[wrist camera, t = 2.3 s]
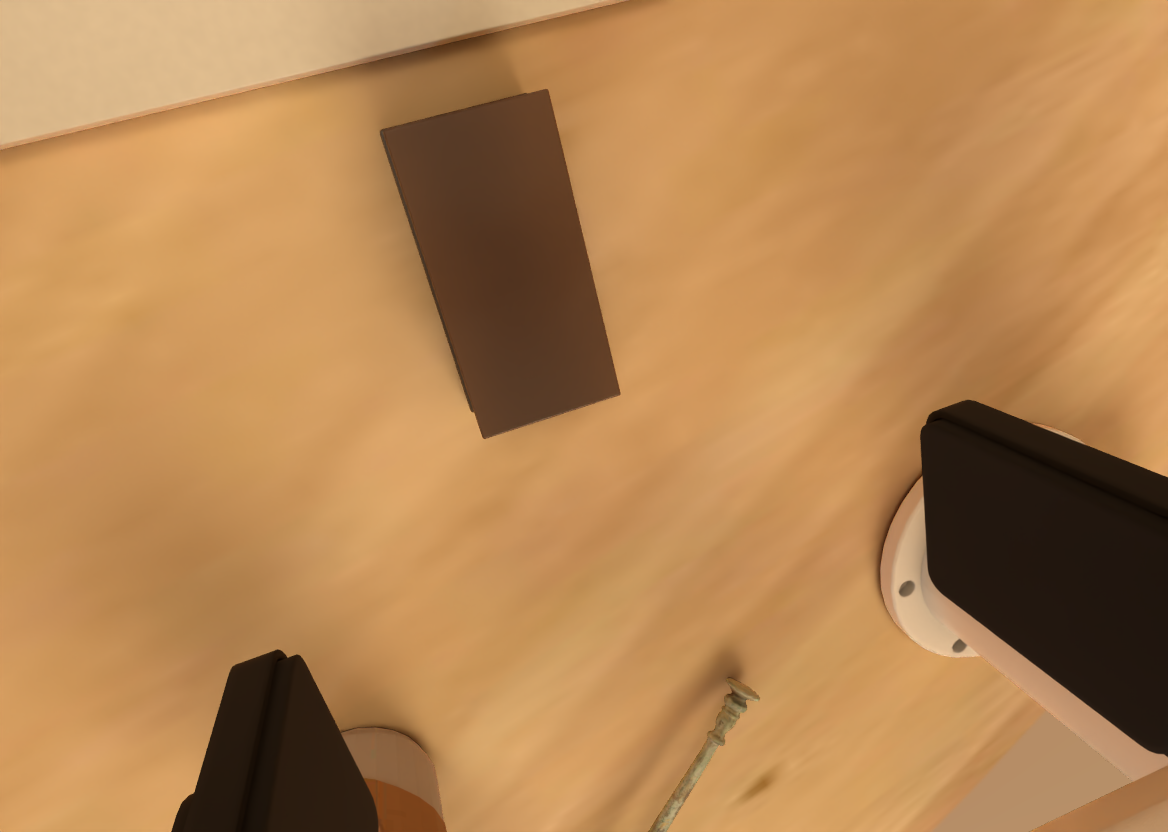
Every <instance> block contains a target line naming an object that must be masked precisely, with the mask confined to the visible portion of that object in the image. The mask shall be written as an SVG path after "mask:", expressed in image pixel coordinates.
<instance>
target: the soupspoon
mask: <svg viewBox="0 0 1168 832" xmlns="http://www.w3.org/2000/svg"><path fill="white" fill-rule="evenodd" d="M726 682H727V683H728V684H729V686H730V687H731V690H732V693H731V694H727V695H725V697H724V701H725V706H723V707H722V711H721V712H720V713H719V714H718V716H717V719H716V726H715V729H714V730H713V731H709V732H708V733H707V736H708V739H707V741H706V743H705V744H704V746H703V747H702V749H701V751H700V752H699V754H698V755H697V757H696V758H695V760H694V761H693V763H692V764H691V766H690V768H689V769H688V771H687V772H686V774H685V775H684V777H683V778H682V780H681V781H680V783H679V785H678V786H677V788H676V789H675V791H674V792H673V794H672V795H671V797H670V798H669V800H668V801H667V803H666V805H665V806H664V808H663V809H662V811H661V812H660V814H659V815H658V817H657V818H656V820H655V822H654V823H653V825H652V827H651V828H650V830H649V832H667V830H668V828H669V827H670V825H671V823H672V822H673V820H674V818H675V817H676V815H677V813H678V812H679V810H680V808H681V807H682V805H683V804H684V802H685V800H686V799H687V797H688V795H689V794H690V792H691V791H692V789H693V787H694V786H695V784H696V783H697V781H698V779H699V778H700V776H701V774H702V773H703V771H704V770H705V768H706V766H707V764H708V763H709V761H710V759H711V758H712V756H713V754H714V752H715V750H716V749H717V747H718V746H719V745H720V746H723V745H724V744H725V739H724V737H725V734H726V733H727V732H728V731H729V730H731V729H732V728H733V727H734V725H735V724H736V721H737V719H739V718H740V713H744V712H745V711H746V710H747V705H746V700H752V701H759V700H760V697H759V696H758V695H757V694H756V692H755V691H753V690H752V689H750V688H749V687H748V686H746V685H744V684H742V683H740V682H738V681H736V680H734V679H732V678H727V679H726Z"/></svg>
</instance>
